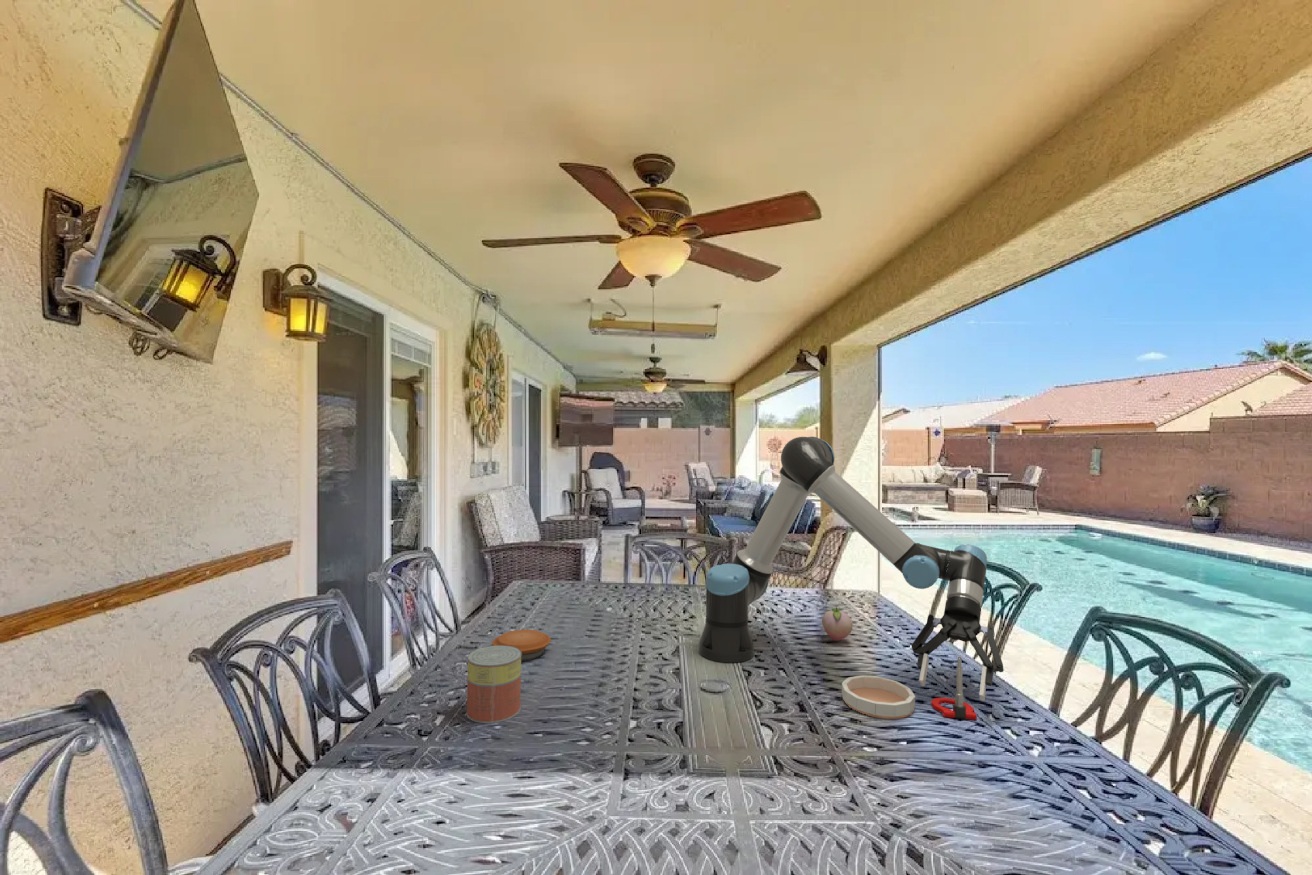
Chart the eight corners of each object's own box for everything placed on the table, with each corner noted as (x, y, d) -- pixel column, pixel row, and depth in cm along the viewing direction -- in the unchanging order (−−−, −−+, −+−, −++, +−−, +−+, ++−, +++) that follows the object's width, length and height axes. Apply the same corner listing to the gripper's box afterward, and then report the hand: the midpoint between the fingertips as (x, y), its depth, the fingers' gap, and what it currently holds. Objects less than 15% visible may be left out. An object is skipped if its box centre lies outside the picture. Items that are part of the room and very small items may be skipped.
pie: (479, 659, 152) (479, 640, 153) (515, 640, 167) (515, 623, 167) (528, 668, 147) (528, 649, 147) (560, 648, 161) (561, 630, 161)
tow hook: (926, 700, 133) (939, 718, 124) (926, 644, 134) (940, 657, 124) (965, 704, 132) (981, 721, 123) (965, 647, 132) (981, 660, 123)
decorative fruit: (856, 647, 165) (856, 612, 166) (827, 646, 166) (828, 611, 166) (846, 635, 175) (846, 603, 175) (819, 635, 175) (819, 602, 175)
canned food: (504, 693, 132) (504, 641, 132) (530, 711, 124) (531, 655, 124) (457, 709, 124) (457, 653, 124) (482, 728, 116) (483, 669, 116)
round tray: (848, 715, 124) (848, 701, 124) (838, 686, 139) (838, 673, 139) (922, 722, 122) (922, 707, 122) (903, 691, 136) (903, 678, 136)
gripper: (1022, 621, 133) (1015, 713, 121) (913, 603, 147) (897, 684, 135) (1020, 603, 129) (1013, 697, 116) (908, 586, 143) (891, 668, 130)
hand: (951, 690), depth 125 cm, fingers open, 11 cm apart
